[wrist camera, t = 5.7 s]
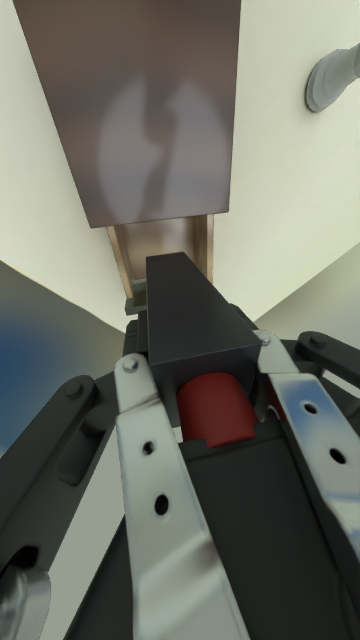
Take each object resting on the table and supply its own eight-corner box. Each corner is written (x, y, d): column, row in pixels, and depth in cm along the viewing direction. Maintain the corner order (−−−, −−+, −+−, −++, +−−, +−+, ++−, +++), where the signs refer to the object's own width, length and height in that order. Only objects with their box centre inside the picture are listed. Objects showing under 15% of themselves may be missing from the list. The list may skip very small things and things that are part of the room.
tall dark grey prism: (145, 256, 16) (151, 442, 3) (183, 251, 16) (316, 402, 4) (153, 297, 18) (174, 493, 6) (186, 292, 18) (274, 466, 6)
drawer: (202, 300, 35) (216, 323, 28) (135, 311, 33) (133, 338, 27) (199, 183, 24) (221, 174, 17) (103, 193, 23) (85, 187, 16)
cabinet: (202, 210, 27) (228, 212, 19) (107, 221, 25) (90, 228, 17) (200, 36, 18) (248, -109, 10) (55, 38, 17) (-32, -128, 8)
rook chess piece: (308, 123, 23) (372, 90, 17) (299, 80, 21) (370, 22, 14) (340, 93, 22) (422, 46, 16) (335, 44, 20) (429, -35, 13)
